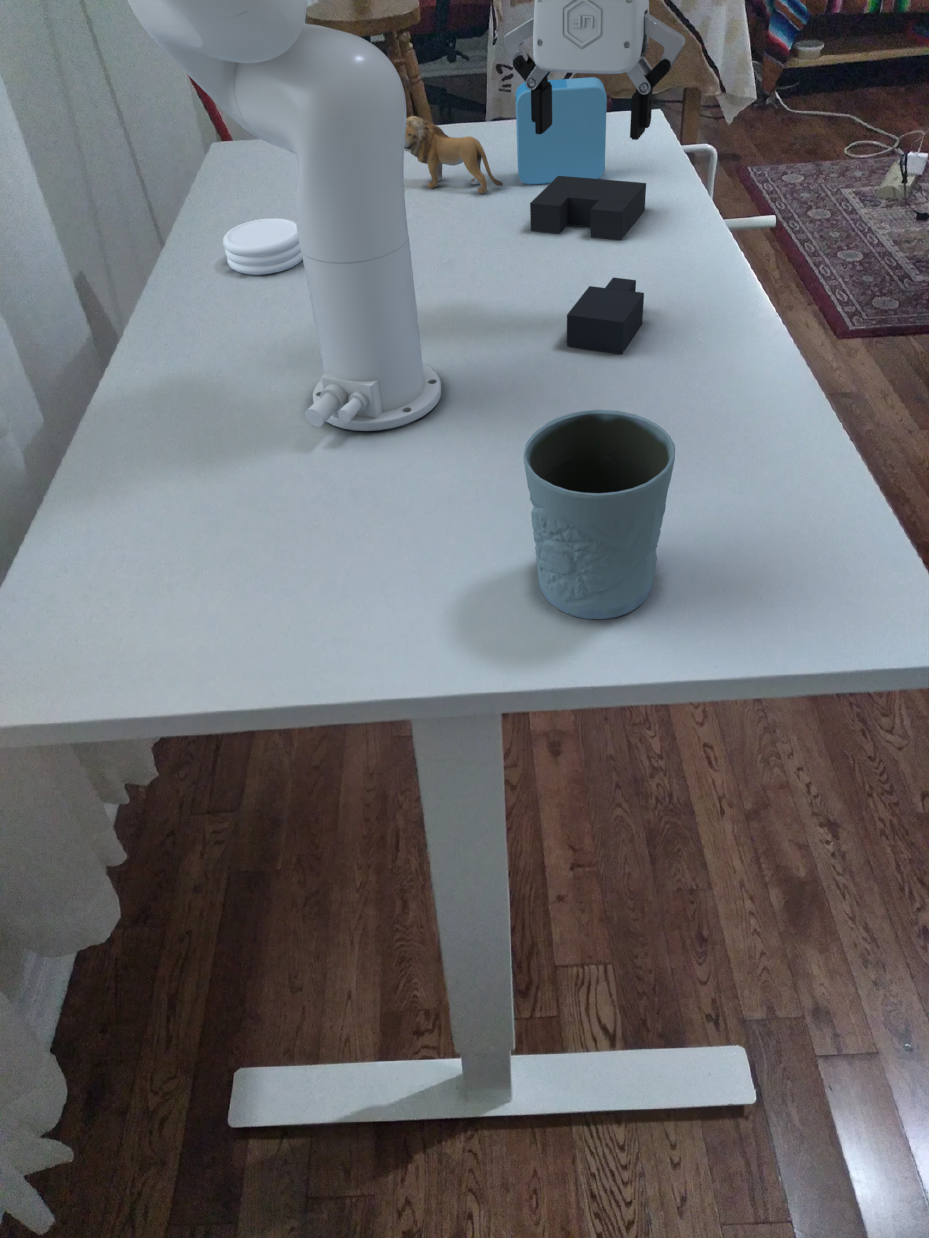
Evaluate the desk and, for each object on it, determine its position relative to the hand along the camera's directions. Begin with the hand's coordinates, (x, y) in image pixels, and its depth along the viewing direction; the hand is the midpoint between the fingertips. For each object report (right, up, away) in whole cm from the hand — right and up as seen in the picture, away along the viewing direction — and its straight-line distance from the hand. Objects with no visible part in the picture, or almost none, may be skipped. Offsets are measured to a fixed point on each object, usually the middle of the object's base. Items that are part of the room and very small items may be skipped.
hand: (590, 132), depth 95 cm
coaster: (-37, -3, +27) cm, 46 cm away
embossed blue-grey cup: (-3, -46, -22) cm, 51 cm away
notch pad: (+4, +3, +29) cm, 29 cm away
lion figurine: (-14, +13, +42) cm, 46 cm away
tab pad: (+3, -17, +7) cm, 19 cm away
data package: (+1, +14, +41) cm, 44 cm away
